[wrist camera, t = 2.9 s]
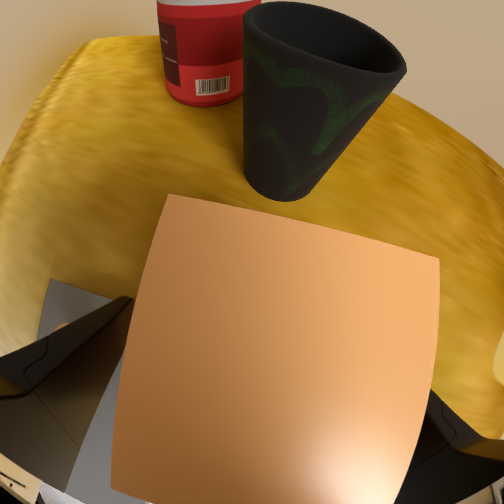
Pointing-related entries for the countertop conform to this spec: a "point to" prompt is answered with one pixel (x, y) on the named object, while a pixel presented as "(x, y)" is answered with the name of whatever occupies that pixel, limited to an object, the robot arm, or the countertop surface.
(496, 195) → the countertop surface
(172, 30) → the canned food
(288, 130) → the cup
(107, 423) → the board
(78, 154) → the countertop surface
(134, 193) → the countertop surface
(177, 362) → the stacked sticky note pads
